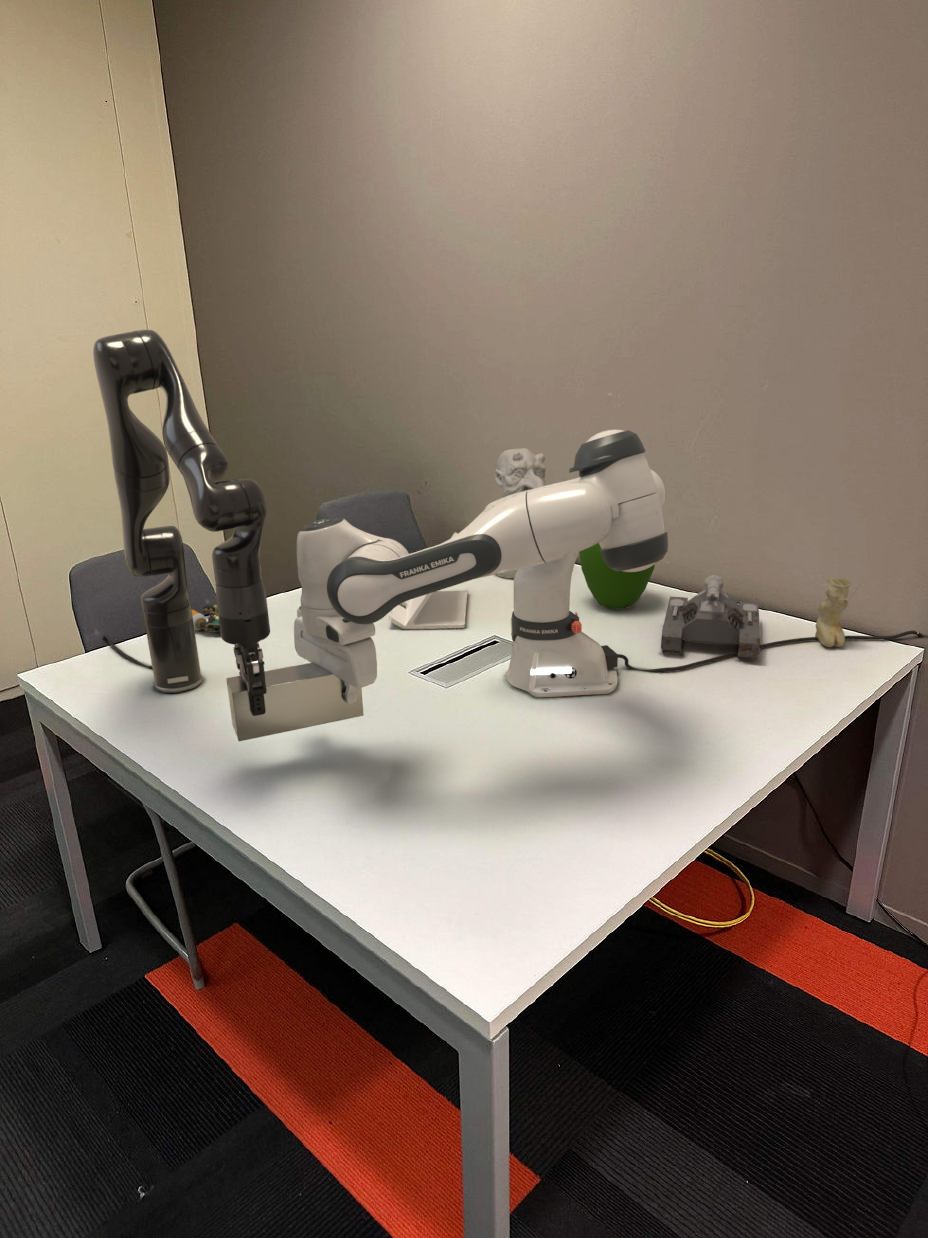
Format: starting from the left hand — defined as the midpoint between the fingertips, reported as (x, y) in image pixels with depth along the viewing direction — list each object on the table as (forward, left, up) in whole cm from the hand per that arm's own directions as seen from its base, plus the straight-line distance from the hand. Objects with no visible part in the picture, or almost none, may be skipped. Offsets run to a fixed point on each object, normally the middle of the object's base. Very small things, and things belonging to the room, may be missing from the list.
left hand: (254, 705), depth 138 cm
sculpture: (+25, +121, -13) cm, 124 cm away
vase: (-22, +103, -13) cm, 106 cm away
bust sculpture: (-56, +101, -13) cm, 116 cm away
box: (+1, +7, -4) cm, 8 cm away
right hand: (+3, +13, -1) cm, 14 cm away
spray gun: (-74, +19, -13) cm, 77 cm away
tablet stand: (-48, +64, -13) cm, 81 cm away
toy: (+7, +103, -13) cm, 104 cm away
